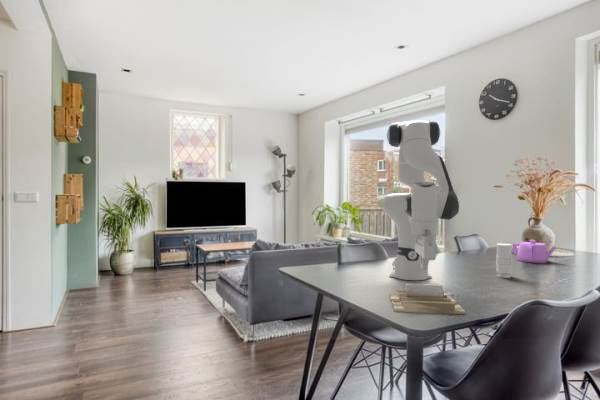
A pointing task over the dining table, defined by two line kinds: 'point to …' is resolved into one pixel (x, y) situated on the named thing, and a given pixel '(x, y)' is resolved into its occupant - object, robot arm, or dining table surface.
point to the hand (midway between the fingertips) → (424, 269)
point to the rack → (425, 304)
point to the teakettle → (532, 251)
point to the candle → (504, 260)
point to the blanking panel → (424, 290)
